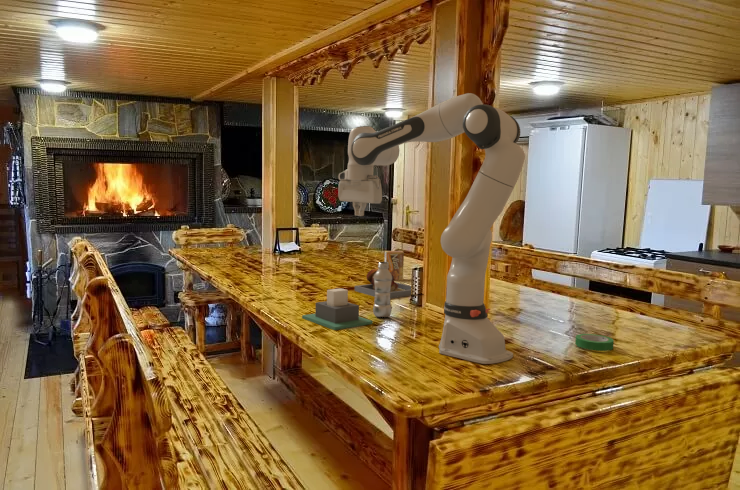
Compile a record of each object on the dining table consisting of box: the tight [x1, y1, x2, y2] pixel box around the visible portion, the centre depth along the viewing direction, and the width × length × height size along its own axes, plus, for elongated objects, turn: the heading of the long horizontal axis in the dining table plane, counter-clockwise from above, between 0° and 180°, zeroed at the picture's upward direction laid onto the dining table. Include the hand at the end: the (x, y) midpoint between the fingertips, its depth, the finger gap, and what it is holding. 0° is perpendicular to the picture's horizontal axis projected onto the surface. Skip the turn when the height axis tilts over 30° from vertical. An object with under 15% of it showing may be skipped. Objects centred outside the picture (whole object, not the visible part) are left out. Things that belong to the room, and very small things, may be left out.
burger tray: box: [354, 281, 412, 300], centre depth 255 cm, size 20×22×3 cm
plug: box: [326, 287, 349, 307], centre depth 203 cm, size 4×6×9 cm, turn 129°
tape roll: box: [575, 333, 615, 352], centre depth 181 cm, size 11×11×3 cm
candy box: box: [384, 250, 405, 281], centre depth 285 cm, size 9×4×15 cm, turn 103°
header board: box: [301, 300, 374, 331], centre depth 203 cm, size 20×16×6 cm
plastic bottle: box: [372, 261, 392, 319], centre depth 210 cm, size 6×7×20 cm
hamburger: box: [365, 268, 399, 292], centre depth 260 cm, size 16×13×10 cm
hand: (359, 215), depth 199 cm, fingers closed
